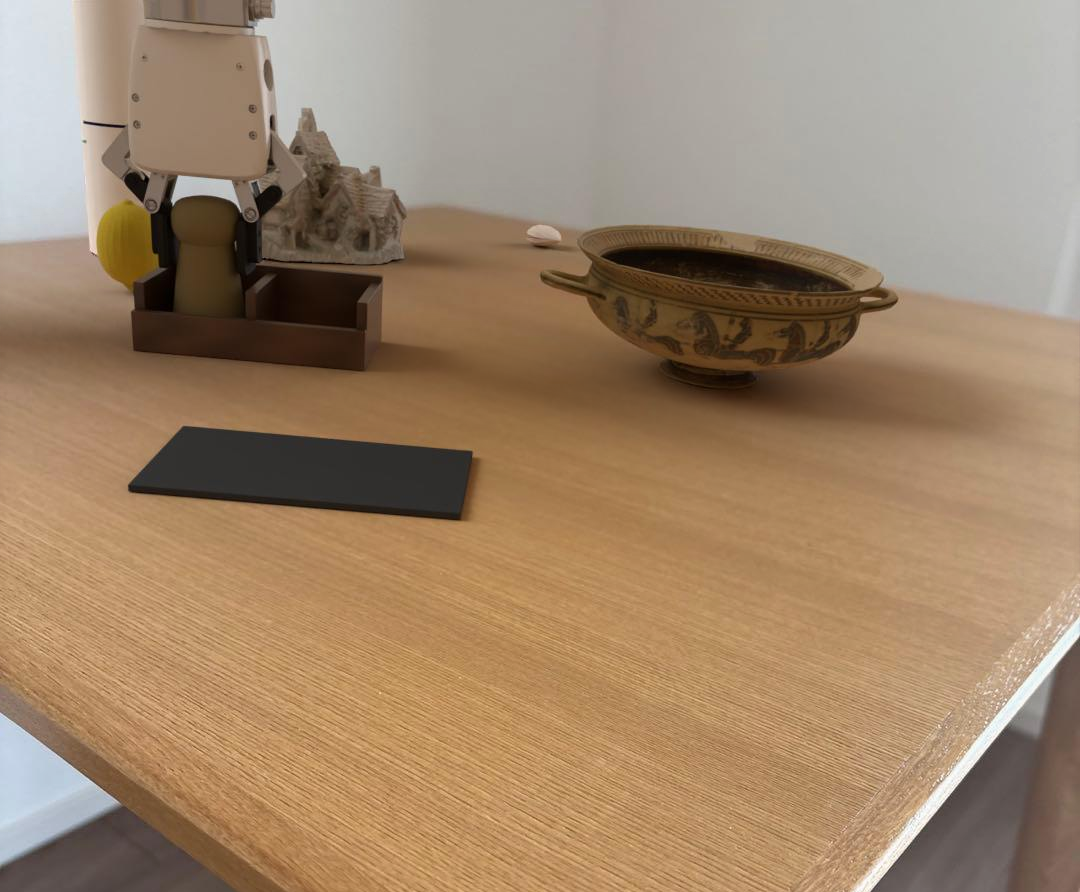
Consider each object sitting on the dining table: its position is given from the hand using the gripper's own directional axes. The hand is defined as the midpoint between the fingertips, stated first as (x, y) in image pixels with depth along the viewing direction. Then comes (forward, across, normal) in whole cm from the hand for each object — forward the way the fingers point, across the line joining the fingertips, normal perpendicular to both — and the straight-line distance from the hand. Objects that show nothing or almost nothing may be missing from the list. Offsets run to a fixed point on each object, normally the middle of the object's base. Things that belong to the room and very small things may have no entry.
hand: (208, 266), depth 87 cm
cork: (+6, 0, 0) cm, 6 cm away
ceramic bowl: (+6, -40, -3) cm, 41 cm away
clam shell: (+6, -26, -56) cm, 62 cm away
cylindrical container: (+6, +17, -30) cm, 35 cm away
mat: (+6, -13, +26) cm, 30 cm away
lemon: (+6, +11, -14) cm, 19 cm away
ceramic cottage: (+6, -1, -39) cm, 39 cm away
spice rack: (+6, -4, 0) cm, 7 cm away
